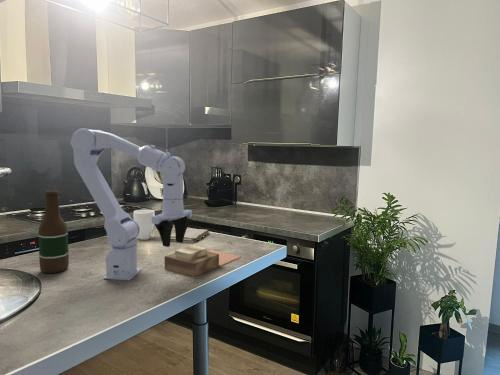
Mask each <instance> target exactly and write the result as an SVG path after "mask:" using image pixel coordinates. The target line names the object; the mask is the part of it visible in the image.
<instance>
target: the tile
mask: <svg viewBox="0 0 500 375" xmlns="http://www.w3.org/2000/svg"><path fill="white" fill-rule="evenodd" d="M207 252H208V248H207V247H202V246H199V245H194V244H191V245H189V246H186V247H183V248H180V249H176V250H174V253H175V257H177V258H181V259H185V260H189V261H190V260H193V259H196V258H198V257H201V256H204V255H206V254H207Z"/></svg>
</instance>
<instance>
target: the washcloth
mask: <svg viewBox="0 0 500 375" xmlns="http://www.w3.org/2000/svg"><path fill="white" fill-rule="evenodd" d="M209 233H210V231H209V229H203V228H202V229H201V228H199V229H198V228H188V227H187V229H186V232H185V235H184V239H183V243H182V244H189V243H192V244H194V242H195V241H197V240H198V239H200V238H202V237H203V236H205V235H206V236H208V235H209ZM207 234H208V235H207ZM206 236H205V237H206ZM203 238H204V237H203ZM203 238H202V239H203ZM200 240H201V239H200ZM170 241H171V242H170V243H178V244H180V243H179V242H176V236H175V232H174V233H171V239H170ZM197 242H198V241H197ZM195 243H196V242H195Z"/></svg>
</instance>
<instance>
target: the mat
mask: <svg viewBox="0 0 500 375" xmlns="http://www.w3.org/2000/svg"><path fill="white" fill-rule="evenodd" d="M207 252H211V253H216V254H219V266H218V267H222V266H224V265H227V264H229V263H231V262H233V261H236V260H238V259H241V258H242V256H241V255H237V254H232V253H227V252H223V251H218V250H214V249H211V250H207Z"/></svg>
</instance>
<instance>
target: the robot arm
mask: <svg viewBox="0 0 500 375" xmlns="http://www.w3.org/2000/svg"><path fill="white" fill-rule="evenodd" d="M69 143H70V146H71V147H72V149H73V150H72V151H73V164H74V167H75V168H76V171H77V172H78V174H79V175H80V178H81V179H82V182H83V183H84V184H85V187H86V188H87V190H88V191H89V193H90V195H91V197H92V198H93V200H94V202H95V203H96V205H97V207H98V208H99V210H100V212H101V214H102V215H103V217H104V219H105V220H104V225H103V228H104V230H105V231H106V238H107V241H108V243H109V244H110V250H109V252H108V253H107V255H106V257H105V271H106V272H105V273H106V274H105V275H104V276H103V280H121V281H131V280H132V279H133V278H134V277H135V276H136V275H137V274H138V273H139V272H141V271H142V270H143V268H142V267H138V244H137V243H138V242H137V238H138V235H139V232H140V228H139V225H138V223H137V222H136V221H134V218H132V217H131V216H130V214H129V213H128V212H126V211H125V210H123V208H122V206H121V205H120V203H119V202H118V199H117V198H116V196H115V194H114V192H113V191H112V189H111V187H110V186H109V184H108V182H107V181H106V178H105V176H104V175H103V174H102V172H101V170H100V168H99V167H98V164H97V163H98V161H99V159H100V156H101V155H102V154H103V152H105V150H106V149H114V150H115V151H116V150H117V151H119V152H122V153H125V154H127V155H130V156H131V157H135V158H136V160H137V162H138V164H140V165H143V166H145V167H147V168H149V169H151V170H154V171H156V172H159V173H161V174H162V212H161V213H160V214H157V215H156V214H155V216H152V223H153V224H154V227H155V228H156V229H157V232H158V233H159V237H160V239H161V243H162V246H163V247H167V248H169V247H171V242H170V239H171V234H172V231H173V228H174V233H175V236H176V242H175V243H177V242H179V243H178V244H184V243H183V239H184V235H185V232H186V229H187V228H188V227H189V225H190V223H191V220H192V219H191V217H193V210H192V209H184V179H183V178H184V174H183V173H184V172H185V170H186V162H185V161H184V160H183V159H182V158H181V157H179V155H178V156H177V155H172V156H171V152H168V151H167V152H164V151H162V150H160V149H158V148H156V147H157V146H156V145H154V144H151V145H148V144H147V145H143V146H139V145H137V144H135V143H133V142H131V141H129V140H127V139H125V138H122V137H120V136H118V135H116V134H114V133H110V132H107V131H103V130H101V129H88V128H84V127H82V128H79V129H77V130H75V131H74V133H73V135H72V137H71V140H70V142H69ZM170 221H173V223H170Z"/></svg>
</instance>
